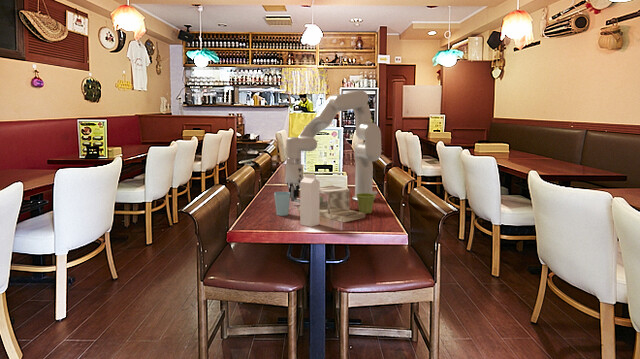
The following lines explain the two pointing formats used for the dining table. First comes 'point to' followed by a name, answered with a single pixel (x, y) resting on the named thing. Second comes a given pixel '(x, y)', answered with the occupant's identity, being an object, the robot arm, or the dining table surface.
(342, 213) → the tunnel
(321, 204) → the slider
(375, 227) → the dining table surface
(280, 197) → the cup
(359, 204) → the plant pot
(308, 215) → the milk
